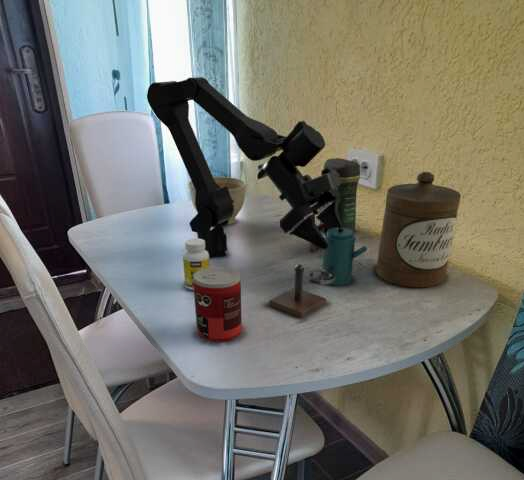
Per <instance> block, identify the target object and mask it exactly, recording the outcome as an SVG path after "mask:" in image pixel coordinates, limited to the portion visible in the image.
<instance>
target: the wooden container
mask: <svg viewBox="0 0 524 480" xmlns="http://www.w3.org/2000/svg"><path fill="white" fill-rule="evenodd" d="M416 180H417V182H416V183H402V184H395V185H393V186H390V187H388V189H387V191H386V192H387V193H386V198H385V207H384V215H383V221H382V226H381V233H380V239H379V245H378V252H377V253H378V254H377V261H376V270H375V271H376V272H375V273H376V274H377V276H379V278H380V279H382V280H384V281H385V282H388V283H390V284H394V285H397V286H402V287H408V288H429V287H433V286H436V285H439V284H441V283H442V282H443V281H444V280H445V277H446V272H447V269H448V263H449V258H450V254H451V252H452V251H451V250H452V246H453V239H454V233H455V228H456V224H457V217H458V211H459V207H460V202H461V198H462V197H461V196H462V195H461V193H460V192H459V191H457V190H455V189H453V188H450V187H447V186H442V185H437V184H433V182H434V181H435V175H434V174H433V173H432V172H430V171H422V172H421V173H419V174H418V175H417V176H416Z"/></svg>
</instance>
